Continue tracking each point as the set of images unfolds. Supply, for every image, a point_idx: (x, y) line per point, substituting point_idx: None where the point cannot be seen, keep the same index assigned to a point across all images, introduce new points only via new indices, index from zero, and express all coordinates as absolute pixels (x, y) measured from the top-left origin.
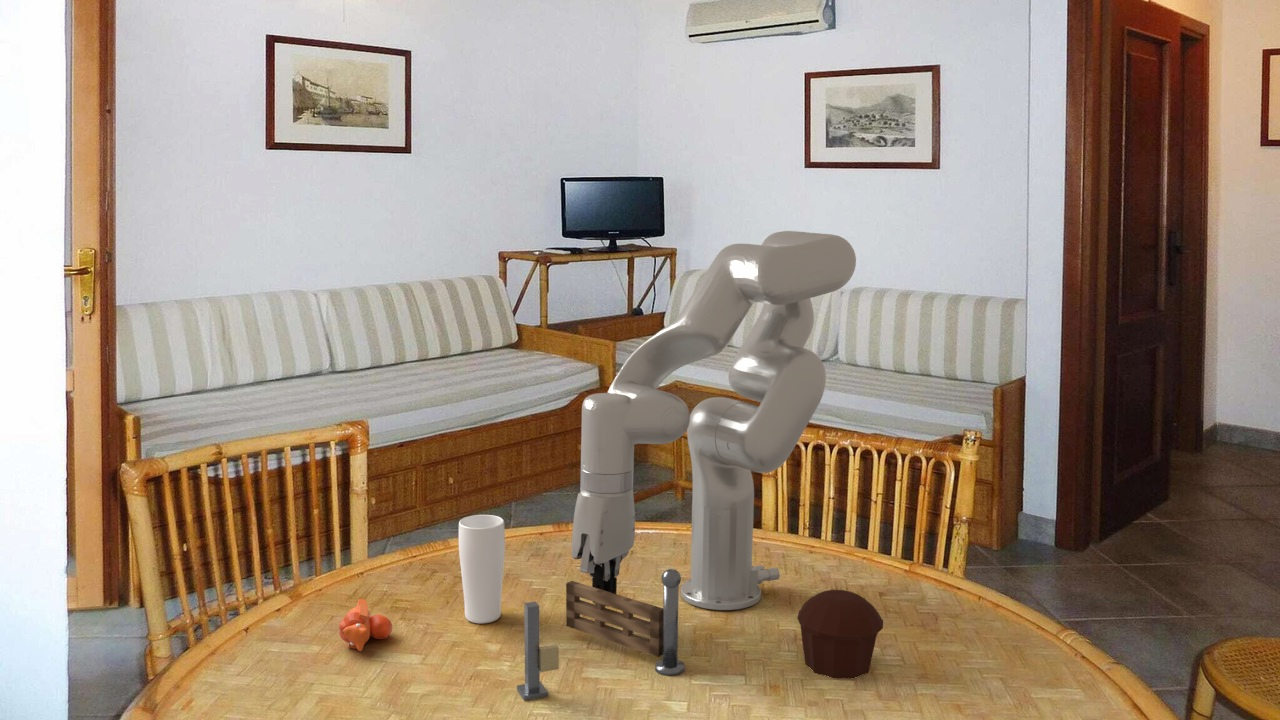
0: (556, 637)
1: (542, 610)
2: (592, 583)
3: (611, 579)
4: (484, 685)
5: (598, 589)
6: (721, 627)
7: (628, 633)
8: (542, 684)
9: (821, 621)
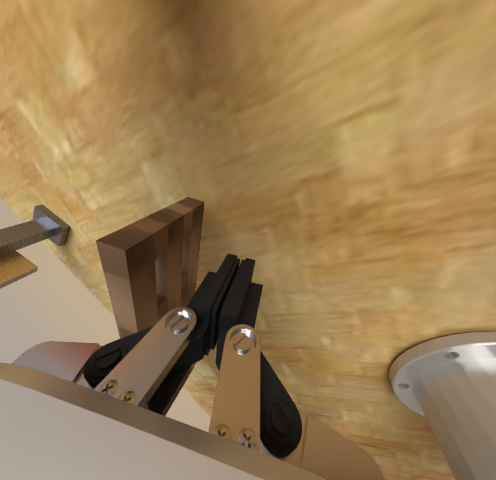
0: (184, 176)
1: (309, 34)
2: (210, 285)
3: (207, 352)
4: (10, 156)
5: (133, 331)
6: (324, 370)
7: None
8: (61, 234)
9: None
